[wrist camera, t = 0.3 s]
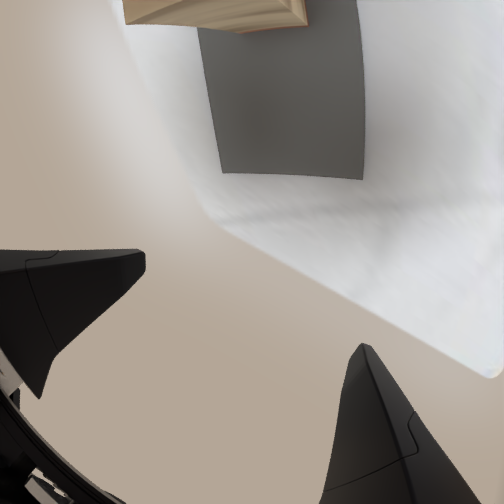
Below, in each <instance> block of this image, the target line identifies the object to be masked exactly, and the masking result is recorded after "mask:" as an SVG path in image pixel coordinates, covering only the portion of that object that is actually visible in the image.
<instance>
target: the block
mask: <svg viewBox="0 0 504 504" xmlns="http://www.w3.org/2000/svg"><path fill="white" fill-rule="evenodd" d="M122 1H123V9H124V16H125V23H126V25H133V24H158V25H179V26H191V27H201V28H209V29H216V30H223V31H229V32H235V33H240V34H242V33H248V32H255V31H263V30H271V29H282V28H295V27H309V22H308V15H307V8H306V2H305V0H122Z"/></svg>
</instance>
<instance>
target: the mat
mask: <svg viewBox="0 0 504 504" xmlns="http://www.w3.org/2000/svg"><path fill="white" fill-rule="evenodd" d="M305 2H306V8H307V15H308V22H309V27H295V28H282V29H271V30H263V31H255V32H248V33H242V34H240V33H235V32H229V31H223V30H216V29H209V28H201V27H197V31H198V37H199V43H200V49H201V55H202V61H203V67H204V73H205V79H206V84H207V90H208V96H209V101H210V107H211V113H212V118H213V124H214V129H215V135H216V140H217V146H218V151H219V157H220V162H221V167H222V173H254V174H287V175H307V176H322V177H335V178H347V179H357V180H363V167H364V143H365V93H364V70H363V56H362V44H361V34H360V26H359V18H358V11H357V4H356V0H305Z"/></svg>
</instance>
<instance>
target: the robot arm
mask: <svg viewBox="0 0 504 504" xmlns="http://www.w3.org/2000/svg"><path fill="white" fill-rule="evenodd" d="M145 269H146V261H145V253H144V252H143V251H141V250H139V249H104V250H63V251H59V250H51V251H35V250H0V504H126V503H125V502H124V501H122V500H120V499H119V498H117V497H115V496H114V495H112V494H110V493H108V492H106V491H103V490H102V489H100V488H99V487H98V486H96V485H95V484H94V483H92V482H91V481H90V480H89V479H87V478H86V477H85V476H84V475H82V474H81V473H80V472H79V471H78V470H76V469H75V468H74V467H73V466H72V465H70V464H69V462H67V461H66V460H65V459H64V458H63V457H62V456H61V455H60V454H59V453H57V451H56V450H54V448H53V447H52V446H51V445H50V444H49V443H48V442H47V441H46V440H45V439H44V438H43V437H42V436H41V435H40V434H39V433H38V432H37V431H36V430H35V428H33V426H32V425H31V424H30V423H29V422H28V420H27V419H26V418H25V417H24V416H23V414H22V413H21V412H20V390H19V388H18V387H19V386H20V385H21V384H22V383H23V382H24V383H25V384H26V386H27V387H28V388H29V389H30V390H31V392H32V393H33V394H34V395H35V396H36V397H37V398H38V399H40V398H41V396H42V392H43V389H44V386H45V382H46V379H47V376H48V373H49V370H50V367H51V364H52V362H53V360H54V358H55V357H56V356H57V355H58V353H59V352H61V351H62V350H63V349H64V348H65V347H66V346H67V345H68V344H69V343H70V342H71V341H72V340H74V339H75V338H76V337H77V336H78V335H79V334H80V333H81V332H82V331H83V330H85V328H87V327H88V326H89V325H90V324H91V323H92V322H93V321H95V320H96V319H97V318H98V317H99V316H100V315H101V314H103V313H104V312H105V311H106V310H107V309H108V308H109V307H110V306H112V305H113V304H114V303H115V302H116V301H117V300H119V299H120V298H121V297H122V296H123V295H124V294H125V293H126V292H127V291H128V290H129V289H130V288H131V287H132V286H133V285H134V284H135V283H136V282H137V280H139V278H140V277H141V276H142V275H143V274H144V272H145ZM35 468H37V469H38V470H40V471H41V472H42V473H43V476H44V477H45V478H47V479H48V480H50V481H52V482H53V483H54V484H53V486H54V487H56V488H57V489H59V490H61V491H62V492H63V493H65V494H64V496H66V497H63V496H61V495H59V494H58V493H56V492H55V491H54V489H55V488H54V487H53V486H52V485H50V484H49V483H47V482H46V481H44V480H43V479H40V478H38V477H36V476H35V475H33V474H32V473H31V472H32V471H33V470H34V469H35ZM319 504H481V503H480V501H479V500H478V499H477V497H476V496H475V494H474V493H473V491H472V490H471V488H470V487H469V486H468V484H467V483H466V481H465V480H464V479H463V477H462V476H461V475H460V473H459V472H458V470H457V469H456V468H455V466H454V465H453V463H452V462H451V461H450V459H449V458H448V456H447V455H446V454H445V452H444V451H443V450H442V448H441V447H440V446H439V444H438V443H437V442H436V440H435V439H434V438H433V436H432V435H431V434H430V432H429V431H428V429H427V428H426V427H425V425H424V423H423V422H422V421H421V419H420V417H419V416H418V414H417V413H416V411H414V409H413V407H412V405H411V404H410V402H409V401H408V399H407V398H406V396H405V395H404V394H403V392H402V390H401V389H400V387H399V386H398V384H397V383H396V381H395V380H394V378H393V377H392V375H391V374H390V372H389V371H388V369H387V368H386V367H385V365H384V364H383V362H382V361H381V359H380V358H379V356H378V355H377V353H376V352H375V351H374V349H373V348H372V346H370V345H367V344H364V343H361V344H360V345H359V346H358V348H357V349H356V350H355V352H354V353H353V355H352V356H351V358H350V360H349V363H348V367H347V371H346V375H345V380H344V383H343V388H342V391H341V398H340V404H339V412H338V418H337V425H336V432H335V437H334V443H333V448H332V454H331V459H330V463H329V468H328V473H327V477H326V481H325V485H324V490H323V493H322V497H321V500H320V502H319Z"/></svg>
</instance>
